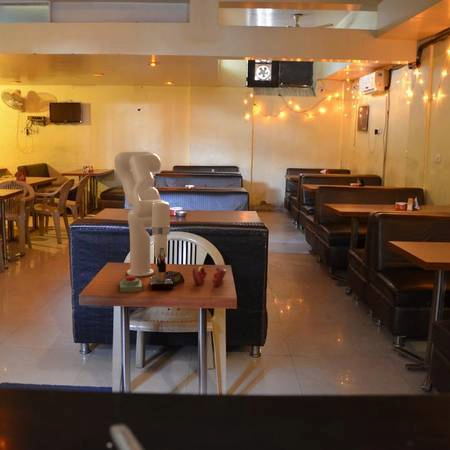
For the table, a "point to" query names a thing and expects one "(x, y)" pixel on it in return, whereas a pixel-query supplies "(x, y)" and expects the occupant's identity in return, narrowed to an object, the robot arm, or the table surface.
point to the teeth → (201, 274)
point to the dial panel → (160, 284)
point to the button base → (130, 285)
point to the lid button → (130, 278)
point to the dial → (160, 275)
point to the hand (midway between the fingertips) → (161, 269)
